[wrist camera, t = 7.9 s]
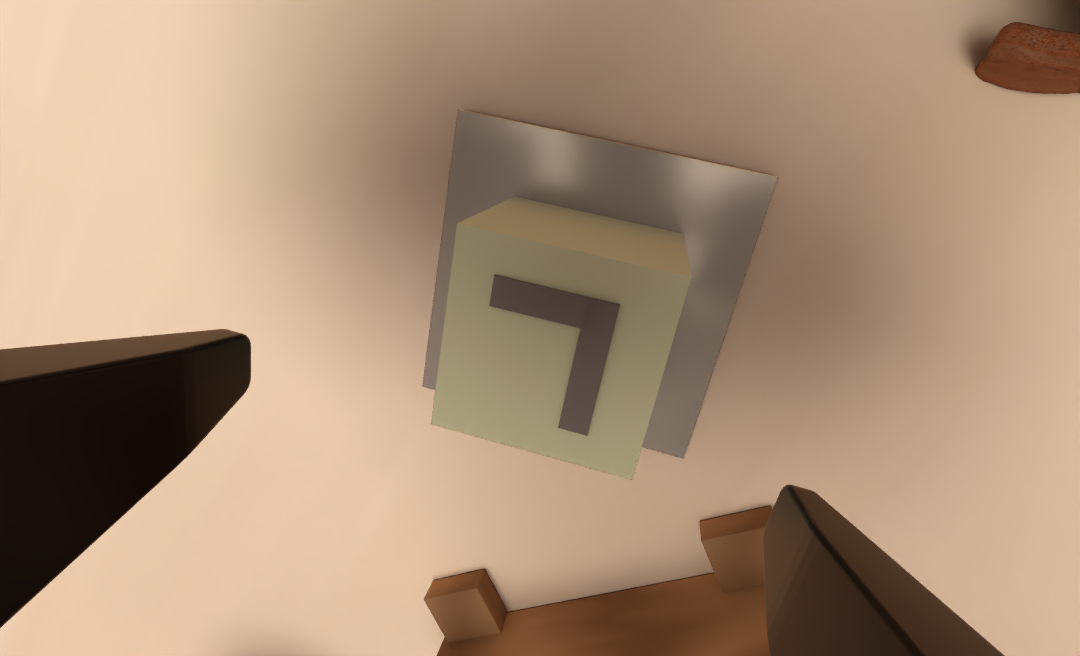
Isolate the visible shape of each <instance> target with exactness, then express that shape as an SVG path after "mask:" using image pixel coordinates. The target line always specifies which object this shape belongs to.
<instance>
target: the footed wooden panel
mask: <svg viewBox="0 0 1080 656" xmlns="http://www.w3.org/2000/svg"><path fill="white" fill-rule="evenodd" d="M771 512H772V508H771V506H767V507H763V508H758V509H754V510H749V511H745V512H740V513H736V514H731V515H727V516H722V517H718V518H713V519H709V520H704V521H700V529H701V541H702V543H703V546H704V548H705V550H706V553H707V555H708V558H709V560H710V562H711V565H712V567H713V570H714V572H715V573H712V574H707V575H701V576H696V577H691V578H686V579H681V580H675V581H670V582H665V583H660V584H655V585H649V586H644V587H639V588H634V589H628V590H623V591H618V592H613V593H608V594H602V595H597V596H592V597H587V598H582V599H576V600H571V601H566V602H561V603H555V604H550V605H545V606H540V607H535V608H529V609H524V610H519V611H514V612H509V613H508V612H507V611H506V609H505V607H504V605H503V603H502V601H501V599H500V597H499V595H498V594H497V592H496V590H495V588H494V586H493V584H492V582H491V580H490V578H489V577H488V575H487V573H486V571H485V569H483V570H478V571H474V572H469V573H465V574H460V575H456V576H451V577H447V578H442V579H438V580H433V582H432V584H431V586H430V588H429V590H428V592H427V594H426V596H425V598H424V601H425V603H426V604H427V606H428V608H429V610H430V611H431V613H432V615H433V617H434V618H435V620H436V622H437V624H438V625H439V627H440V629H441V631H442V632H443V634H444V636H445V638H444V640H443V642H442V645H441V647H440V649H439V652H438V654H437V656H770V652H769V644H768V637H767V625H766V605H765V580H764V556H763V536H764V530H765V527H766V524H767V522H768V520H769V517H770V515H771Z"/></svg>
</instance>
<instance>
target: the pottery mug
mask: <svg viewBox="0 0 1080 656" xmlns="http://www.w3.org/2000/svg"><path fill="white" fill-rule="evenodd" d="M976 74H977V75H978V77H979V78H980V79H982V80H983V81H986V82H990V83H993V84H996V85H998V86H1001V87H1005V88H1008V89H1014V90H1020V91H1027V92H1032V93H1054V94H1057V93H1059V94H1068V93H1080V34H1078V33H1072V32H1062V31H1057V30H1054V29H1049V28H1042V27H1038V26H1034V25H1029V24H1025V23H1021V22H1015V23H1010V24H1008V25H1007V26H1005V27H1004V28H1003V29H1002V30H1001V31H1000V32H999V33H998V35H997V36H996V38H995V40H994V41H993V43H992V44H991V46H990V47H989V50H988V55H987V56H986V57H985V58H984V59H983V60H982V62H981V63H980V64H979V65H978V67H977V69H976Z"/></svg>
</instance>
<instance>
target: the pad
mask: <svg viewBox="0 0 1080 656" xmlns="http://www.w3.org/2000/svg"><path fill="white" fill-rule="evenodd" d="M777 179H778V177H777V176H775V175H770V174H766V173H761V172H756V171H751V170H747V169H742V168H737V167H732V166H728V165H723V164H718V163H714V162H709V161H704V160H699V159H695V158H690V157H685V156H680V155H676V154H671V153H666V152H661V151H657V150H652V149H647V148H642V147H638V146H633V145H628V144H623V143H619V142H614V141H609V140H605V139H600V138H595V137H590V136H586V135H581V134H576V133H571V132H567V131H562V130H557V129H552V128H548V127H543V126H538V125H533V124H529V123H524V122H519V121H514V120H510V119H505V118H500V117H495V116H491V115H486V114H481V113H477V112H472V111H467V110H458V113H457V121H456V129H455V136H454V144H453V152H452V160H451V167H450V175H449V183H448V191H447V199H446V206H445V214H444V222H443V230H442V237H441V245H440V253H439V261H438V269H437V276H436V284H435V292H434V300H433V307H432V315H431V323H430V331H429V339H428V346H427V354H426V362H425V370H424V377H423V385H422V386H423V387H426V388H430V389H434V390H436V382H437V374H438V367H439V359H440V351H441V344H442V336H443V328H444V321H445V313H446V305H447V298H448V290H449V282H450V275H451V267H452V259H453V252H454V244H455V236H456V229H457V223H459V222H461V221H464V220H466V219H468V218H470V217H472V216H474V215H476V214H478V213H481V212H483V211H485V210H487V209H489V208H491V207H493V206H495V205H497V204H500V203H502V202H504V201H506V200H508V199H510V198H512V197H519V198H523V199H528V200H532V201H537V202H541V203H546V204H550V205H555V206H560V207H564V208H569V209H573V210H578V211H582V212H587V213H591V214H596V215H600V216H605V217H609V218H614V219H619V220H623V221H628V222H632V223H637V224H641V225H646V226H650V227H655V228H659V229H664V230H668V231H673V232H678V233H682V234H684V237H685V243H686V249H687V255H688V261H689V267H690V272H691V280H690V284H689V287H688V291H687V294H686V297H685V301H684V304H683V308H682V311H681V315H680V318H679V321H678V325H677V328H676V332H675V335H674V338H673V342H672V345H671V349H670V352H669V356H668V359H667V362H666V366H665V369H664V373H663V376H662V380H661V383H660V386H659V390H658V393H657V397H656V400H655V404H654V407H653V410H652V414H651V417H650V421H649V424H648V428H647V431H646V434H645V438H644V441H643V445H642V447H644V448H647V449H651V450H654V451H658V452H662V453H665V454H669V455H673V456H676V457H680V458H683V459H684V456H685V453H686V450H687V447H688V444H689V441H690V438H691V435H692V432H693V429H694V426H695V423H696V420H697V417H698V414H699V411H700V409H701V406H702V403H703V400H704V397H705V394H706V391H707V388H708V385H709V382H710V379H711V376H712V373H713V370H714V367H715V364H716V361H717V358H718V355H719V352H720V349H721V346H722V343H723V340H724V337H725V334H726V331H727V328H728V325H729V322H730V319H731V316H732V313H733V310H734V307H735V304H736V301H737V298H738V295H739V292H740V289H741V286H742V283H743V280H744V277H745V274H746V271H747V268H748V265H749V262H750V259H751V256H752V253H753V251H754V248H755V245H756V242H757V239H758V236H759V233H760V230H761V227H762V224H763V221H764V218H765V215H766V212H767V209H768V206H769V203H770V200H771V197H772V194H773V191H774V188H775V185H776V182H777Z"/></svg>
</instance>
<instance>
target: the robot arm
mask: <svg viewBox="0 0 1080 656" xmlns="http://www.w3.org/2000/svg"><path fill="white" fill-rule="evenodd" d="M250 380H251V343H250V340H249V338H248V337H247V336H246V335H244V334H241V333H238V332H234V331H231V330H227V329H218V330H207V331H197V332H186V333H175V334H164V335H153V336H142V337H131V338H120V339H110V340H99V341H88V342H77V343H66V344H55V345H44V346H33V347H23V348H12V349H1V350H0V628H1V627H2V626H3V625H4V624H5V623H6V622H7V621H8V620H10V619H11V618H12V617H13V616H14V615H15V614H16V613H17V612H18V611H19V610H20V609H22V608H23V607H24V606H25V605H26V604H27V603H28V602H29V601H30V600H31V599H32V598H34V597H35V596H36V595H37V594H38V593H39V592H40V591H41V590H42V589H43V588H45V587H46V586H47V585H48V584H49V583H50V582H51V581H52V580H53V579H54V578H55V577H57V576H58V575H59V574H60V573H61V572H62V571H63V570H64V569H65V568H66V567H67V566H69V565H70V564H71V563H72V562H73V561H74V560H75V559H76V558H77V557H78V556H80V555H81V554H82V553H83V552H84V551H85V550H86V549H87V548H88V547H89V546H90V545H92V544H93V543H94V542H95V541H96V540H97V539H98V538H99V537H100V536H101V535H102V534H104V533H105V532H106V531H107V530H108V529H109V528H110V527H111V526H112V525H113V524H115V523H116V522H117V521H118V520H119V519H120V518H121V517H122V516H123V515H124V514H125V513H127V512H128V511H129V510H130V509H131V508H132V507H133V506H134V505H135V504H136V503H137V502H139V501H140V500H141V499H142V498H143V497H144V496H145V495H146V494H147V493H148V492H149V491H151V490H152V489H153V488H154V487H155V486H156V485H157V484H158V483H159V482H160V481H162V480H163V479H164V478H165V477H166V476H167V475H168V474H169V473H170V472H171V471H172V470H174V469H175V468H176V467H177V466H178V465H179V464H180V463H181V462H182V461H183V460H184V459H185V458H186V457H187V456H188V455H189V454H190V453H191V452H192V451H193V450H194V449H195V448H196V447H197V446H198V445H199V443H200V442H201V441H202V440H203V439H204V438H205V437H206V436H207V435H208V433H209V432H210V431H211V430H212V429H213V428H214V427H215V426H216V425H217V423H218V422H219V421H220V420H221V419H222V418H223V417H224V416H225V415H226V413H227V412H228V411H229V410H230V409H231V408H232V407H233V406H234V405H235V403H236V402H237V401H238V400H239V399H240V398H241V397H242V396H243V395H244V393H245V392H246V390H247V389H248V387H249V384H250ZM763 556H764V580H765V605H766V625H767V637H768V644H769V652H770V656H1004V655H1003V654H1002V653H1001V652H1000V651H998V650H997V649H996V648H995V647H994V646H993V645H992V644H990V643H989V642H988V641H987V640H986V639H985V638H983V637H982V636H981V635H980V634H979V633H978V632H976V631H975V630H974V629H973V628H972V627H971V626H970V625H968V624H967V623H966V622H965V621H964V620H963V619H961V618H960V617H959V616H958V615H957V614H956V613H954V612H953V611H952V610H951V609H950V608H949V607H947V606H946V605H945V604H944V603H943V602H942V601H941V600H939V599H938V598H937V597H936V596H935V595H934V594H932V593H931V592H930V591H929V590H928V589H927V588H925V587H924V586H923V585H922V584H921V583H920V582H919V581H917V580H916V579H915V578H914V577H913V576H912V575H910V574H909V573H908V572H907V571H906V570H905V569H903V568H902V567H901V566H900V565H899V564H898V563H897V562H895V561H894V560H893V559H892V558H891V557H890V556H888V555H887V554H886V553H885V552H884V551H883V550H881V549H880V548H879V547H878V546H877V545H876V544H875V543H873V542H872V541H871V540H870V539H869V538H868V537H866V536H865V535H864V534H863V533H862V532H861V531H859V530H858V529H857V528H856V527H855V526H854V525H853V524H851V523H850V522H849V521H848V520H847V519H846V518H844V517H843V516H842V515H841V514H840V513H839V512H837V511H836V510H835V509H834V508H833V507H832V506H831V505H829V504H828V503H827V502H826V501H825V500H824V499H822V498H821V497H820V496H819V495H818V494H817V493H815V492H814V491H811V490H808V489H804V488H801V487H797V486H793V485H786V486H785V487H783V489H782V490H781V492H780V494H779V496H778V498H777V501H776V503H775V505H774V508H773V510H772V512H771V515H770V517H769V520H768V522H767V524H766V527H765V530H764V536H763Z"/></svg>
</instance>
